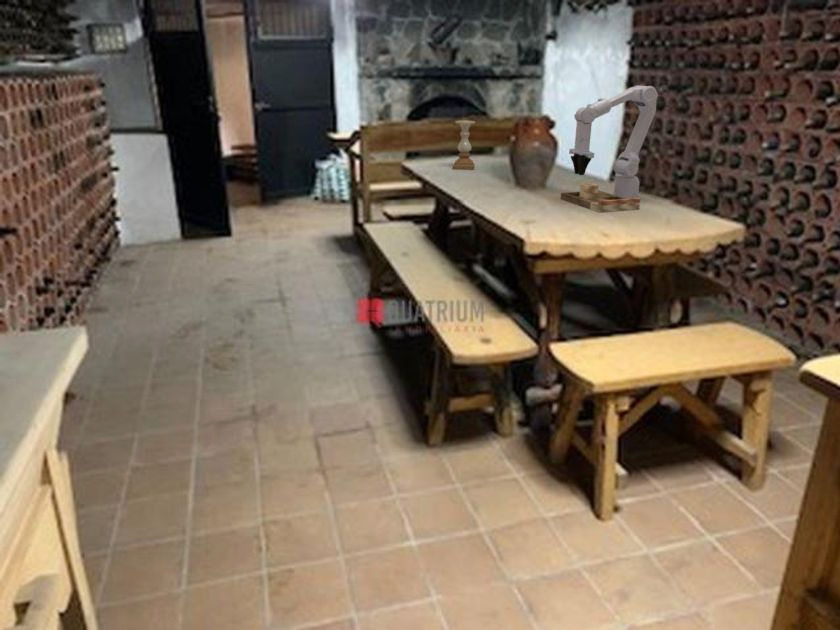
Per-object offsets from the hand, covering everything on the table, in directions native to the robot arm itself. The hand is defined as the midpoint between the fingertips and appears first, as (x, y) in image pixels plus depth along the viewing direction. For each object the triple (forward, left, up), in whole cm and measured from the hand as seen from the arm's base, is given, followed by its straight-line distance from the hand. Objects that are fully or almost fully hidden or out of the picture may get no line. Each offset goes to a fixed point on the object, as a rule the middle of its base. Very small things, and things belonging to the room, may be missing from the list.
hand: (579, 174), depth 261 cm
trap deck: (-4, +9, -10) cm, 14 cm away
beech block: (0, +8, -8) cm, 11 cm away
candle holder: (+8, -94, -11) cm, 95 cm away
